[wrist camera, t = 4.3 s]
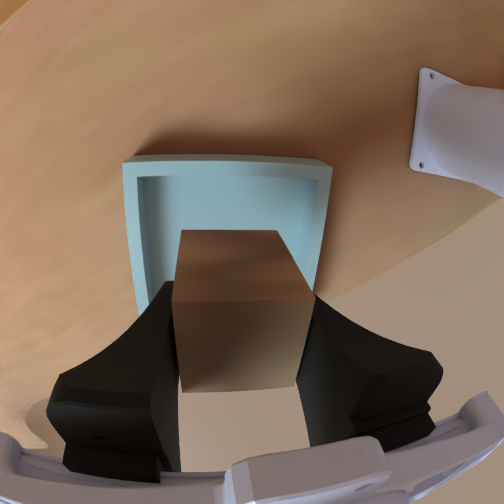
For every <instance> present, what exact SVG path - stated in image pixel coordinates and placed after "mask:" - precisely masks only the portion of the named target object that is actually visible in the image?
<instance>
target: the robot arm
mask: <svg viewBox="0 0 504 504" xmlns="http://www.w3.org/2000/svg"><path fill="white" fill-rule="evenodd" d="M430 74H431V76H432V77H430ZM420 163H421V166H420V167H419V164H420ZM409 165H410V168H411V169H413V170H415V171H420V172H426V173H431V174H436V175H441V176H446V177H451V178H455V179H460V180H464V181H469V182H472V183H474V184H476V185H478V186H480V187H483V188H485V189H487V190H489V191H491V192H493V193H495V194H497V195H499V196H501V197H503V198H504V90H501V89H494V88H486V87H477V86H467V85H464V84H462V83H460V82H458V81H456V80H454V79H452V78H450V77H447V76H445V75H443V74H441V73H439V72H436V71H434V70H432V69H429V68H426V67H424V68H421V69H420V73H419V88H418V100H417V110H416V119H415V128H414V135H413V142H412V149H411V156H410V162H409ZM173 285H174V281H165V282H164V283H163V285H162V286H161V288H160V290H159V291H158V293H157V294H156V296H155V297H154V298H153V300H152V301H151V302H150V304H149V305H148V306H147V308H146V309H145V310H144V312H143V313H142V314H141V315H140V316H139V317H138V319H137V320H136V321H135V322H134V323H133V324H132V325H131V326H130V327H129V329H128V330H127V331H125V332H124V333H123V334H122V335H121V336H120V337H119V338H118V339H117V340H116V341H114V342H113V343H112V344H110V345H109V346H108V347H107V348H105V349H104V350H103V351H101V352H100V353H98V354H97V355H95V356H94V357H92V358H90V359H89V360H87V361H85V362H84V363H82V364H80V365H78V366H76V367H74V368H72V369H70V370H68V371H66V372H64V373H62V374H60V375H59V377H58V379H57V381H56V383H55V385H54V388H53V391H52V394H51V397H50V400H49V403H48V406H47V409H46V413H47V417H48V419H49V421H50V423H51V424H52V425H53V427H54V428H55V430H56V431H57V432H58V433H59V435H60V436H61V437H62V438H63V440H64V441H65V442H66V446H65V451H64V456H63V458H59V457H55V456H51V455H47V454H43V453H39V452H36V451H32V450H29V449H26V448H22V446H21V445H20V443H19V442H18V441H17V440H16V439H15V438H13V437H12V436H10V435H9V434H6V433H4V432H1V431H0V504H409V503H411V502H413V501H415V500H417V499H419V498H421V497H423V496H425V495H427V494H429V493H430V492H432V491H434V490H436V489H437V488H439V487H441V486H443V485H444V484H446V483H448V482H449V481H451V480H453V479H454V478H456V477H457V476H459V475H461V474H462V473H464V472H465V471H467V470H468V469H470V468H472V467H473V466H475V465H476V464H478V463H479V462H480V461H482V460H483V459H484V458H485V457H486V456H487V455H488V454H490V453H491V452H492V451H493V450H494V449H495V448H496V447H497V446H498V445H499V444H500V443H501V442H502V441H503V440H504V415H503V413H502V412H501V410H500V409H499V408H498V406H497V405H496V403H495V402H494V401H493V399H492V398H491V396H490V395H489V394H488V392H487V391H484V392H482V393H481V394H479V395H477V396H475V397H473V398H471V399H469V400H468V401H467V402H466V403H465V404H464V405H463V406H462V407H461V409H460V411H459V412H458V413H456V414H454V415H452V416H450V417H448V418H445V419H443V420H441V421H438V422H436V423H434V422H433V421H432V419H431V417H430V416H429V414H428V412H429V411H430V409H431V407H430V406H429V404H428V402H427V401H428V399H429V398H430V396H431V395H432V394H433V392H434V391H435V389H436V388H437V386H438V385H439V383H440V381H441V379H442V376H443V367H442V366H441V365H440V363H439V362H438V361H437V360H436V358H435V357H434V355H433V354H432V353H431V352H429V351H425V350H421V349H417V348H413V347H409V346H406V345H403V344H400V343H397V342H394V341H392V340H389V339H386V338H384V337H382V336H380V335H377V334H375V333H373V332H371V331H369V330H367V329H365V328H363V327H361V326H360V325H358V324H356V323H354V322H352V321H351V320H349V319H348V318H346V317H345V316H343V315H342V314H340V313H339V312H337V311H336V310H334V309H333V308H332V307H330V306H329V305H328V304H326V303H325V302H324V301H323V300H321V299H320V298H319V297H318V296H316V295H315V294H314V293H313V294H314V296H315V303H314V307H313V312H312V316H311V321H310V325H309V329H308V333H307V337H306V341H305V346H304V350H303V353H302V357H301V361H300V365H299V369H298V373H297V376H296V383H297V386H298V390H299V394H300V398H301V403H302V407H303V411H304V416H305V421H306V426H307V431H308V436H309V442H310V448H304V449H298V450H292V451H285V452H278V453H269V454H264V455H260V456H254V457H249V458H246V459H244V460H242V461H239V462H237V463H234V464H233V465H232V466H231V467H230V468H229V469H228V471H224V472H181V462H180V448H179V430H178V429H179V428H178V384H179V375H180V373H179V366H178V358H177V350H176V341H175V332H174V323H173V312H172V293H173Z"/></svg>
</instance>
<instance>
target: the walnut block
mask: <svg viewBox="0 0 504 504" xmlns="http://www.w3.org/2000/svg"><path fill="white" fill-rule="evenodd" d="M314 303H315V296H314V294H313V292H312V290H311V289H310V287H309V285H308V283H307V282H306V280H305V278H304V276H303V274H302V273H301V271H300V269H299V267H298V266H297V264H296V262H295V260H294V259H293V257H292V255H291V253H290V252H289V250H288V248H287V246H286V245H285V243H284V241H283V239H282V238H281V236H280V234H279V232H278V231H277V230H181V236H180V242H179V249H178V256H177V263H176V270H175V277H174V285H173V293H172V312H173V323H174V332H175V341H176V350H177V358H178V366H179V373H180V380H181V387H182V392H183V393H187V392H188V393H194V392H195V393H197V392H199V393H200V392H231V391H248V390H262V389H273V388H282V387H292V386H294V384H295V380H296V376H297V373H298V369H299V365H300V361H301V357H302V353H303V350H304V346H305V341H306V337H307V333H308V329H309V325H310V321H311V316H312V312H313V307H314Z"/></svg>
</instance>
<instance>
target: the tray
mask: <svg viewBox="0 0 504 504" xmlns="http://www.w3.org/2000/svg"><path fill="white" fill-rule="evenodd" d="M122 171H123V189H124V204H125V216H126V226H127V236H128V245H129V253H130V261H131V268H132V275H133V282H134V289H135V295H136V301H137V307H138V312H139V316H140V315H141V314H142V313H143V312H144V310H145V309H146V308H147V306H148V305H149V304H150V302H151V301H152V300H153V298H154V297H155V296H156V294H157V293H158V291H159V290H160V288H161V286H162V285H163V283H164V282H165V281H174V277H175V270H176V263H177V256H178V249H179V242H180V236H181V230H277V231H278V232H279V234H280V236H281V238H282V239H283V241H284V243H285V245H286V246H287V248H288V250H289V252H290V253H291V255H292V257H293V259H294V260H295V262H296V264H297V266H298V267H299V269H300V271H301V273H302V274H303V276H304V278H305V280H306V282H307V283H308V285H309V287H310V289H311V290H312V291H313V286H314V281H315V276H316V271H317V265H318V260H319V254H320V249H321V243H322V237H323V231H324V225H325V219H326V213H327V206H328V200H329V193H330V186H331V179H332V172H333V167H332V166H330V165H328V164H326V163H324V162H322V161H320V160H318V159H309V158H296V157H282V156H264V155H241V154H155V155H132V156H131V157H130V158H128V159H127V160H125V161H124V162H123V163H122Z"/></svg>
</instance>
